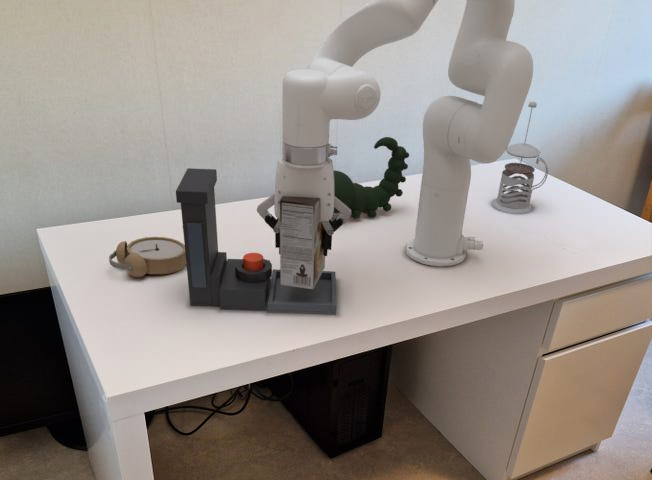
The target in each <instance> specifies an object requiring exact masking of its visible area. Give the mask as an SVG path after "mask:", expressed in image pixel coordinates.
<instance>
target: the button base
mask: <svg viewBox="0 0 652 480" xmlns="http://www.w3.org/2000/svg"><path fill="white" fill-rule="evenodd" d="M263 261H264V268H263V269H261V270H257V271H249V270H246V269H244V265H243V258H227V263H226V267H225V270H224V274H223V277H222V281H221V285H220V288H219V294H220V307H219V309H220V310H221V311H247V312H249V311H252V312H253V311H254V312H266V311H267V305H268V298H269V291H270V284H271V277H272V271H273V264H272V262H271V260H270V259H265V258H263Z"/></svg>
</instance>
